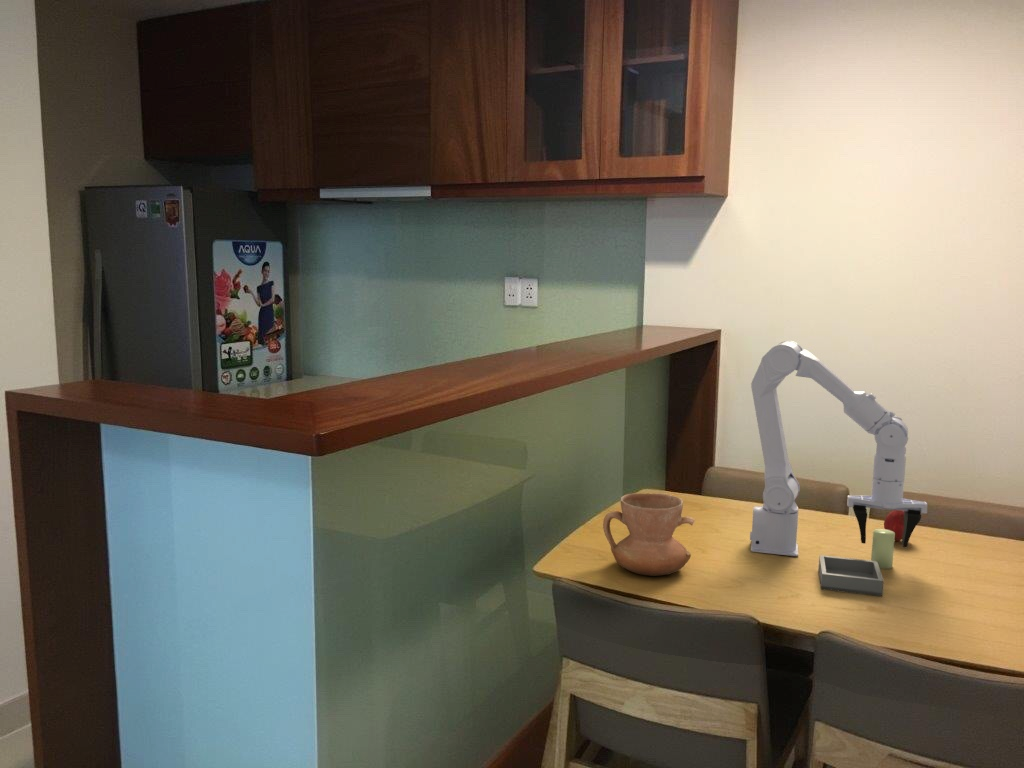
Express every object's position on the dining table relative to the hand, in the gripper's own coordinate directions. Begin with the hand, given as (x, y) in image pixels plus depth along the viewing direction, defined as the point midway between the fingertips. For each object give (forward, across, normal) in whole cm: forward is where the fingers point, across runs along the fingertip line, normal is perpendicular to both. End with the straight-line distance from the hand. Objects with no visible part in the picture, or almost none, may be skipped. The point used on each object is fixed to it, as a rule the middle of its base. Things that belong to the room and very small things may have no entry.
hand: (883, 543), depth 169 cm
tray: (+4, -7, -12) cm, 15 cm away
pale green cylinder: (+4, 0, 0) cm, 5 cm away
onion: (+5, +5, +17) cm, 18 cm away
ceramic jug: (+5, -45, -17) cm, 48 cm away
